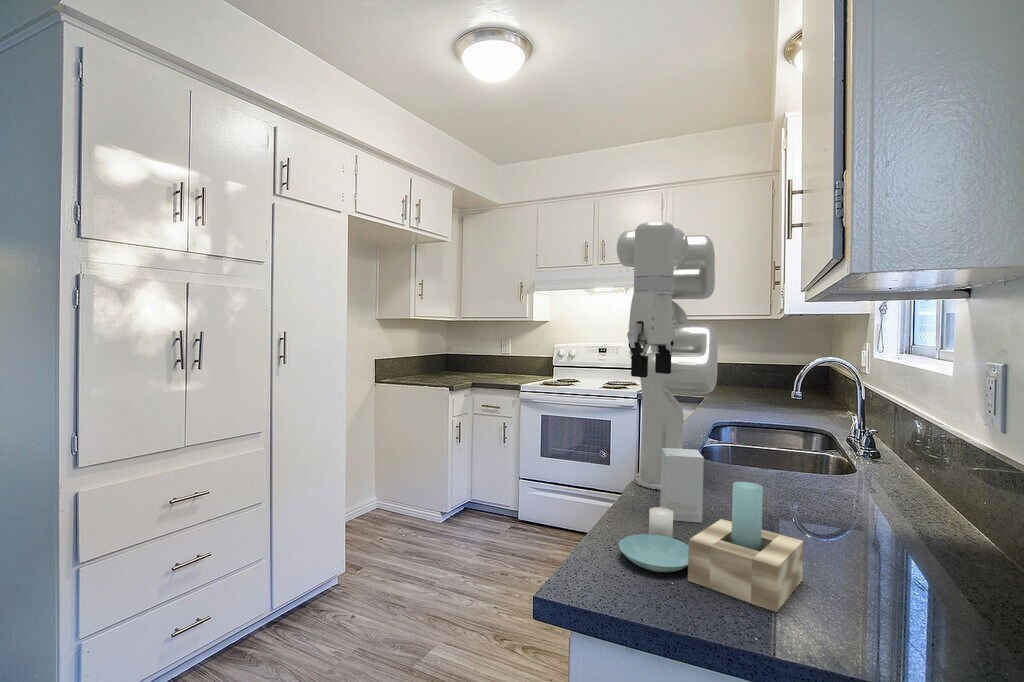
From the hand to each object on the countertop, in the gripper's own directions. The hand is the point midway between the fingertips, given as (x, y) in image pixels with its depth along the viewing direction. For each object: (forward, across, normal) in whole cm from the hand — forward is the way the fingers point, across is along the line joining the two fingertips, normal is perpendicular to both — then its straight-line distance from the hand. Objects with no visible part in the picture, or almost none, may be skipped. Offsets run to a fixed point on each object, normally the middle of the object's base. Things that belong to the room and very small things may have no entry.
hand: (651, 374), depth 101 cm
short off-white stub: (+28, +10, +7) cm, 30 cm away
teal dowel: (+27, +15, +23) cm, 39 cm away
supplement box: (+28, -4, +4) cm, 29 cm away
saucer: (+28, +18, +11) cm, 35 cm away
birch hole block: (+27, +15, +23) cm, 39 cm away
